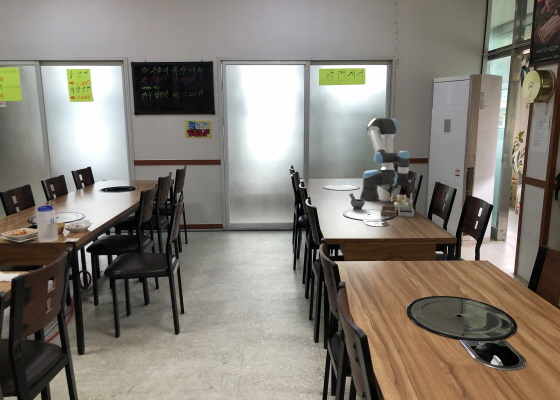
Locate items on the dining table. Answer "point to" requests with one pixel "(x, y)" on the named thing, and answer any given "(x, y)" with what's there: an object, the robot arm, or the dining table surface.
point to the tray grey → (405, 210)
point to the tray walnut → (388, 209)
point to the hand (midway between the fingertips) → (401, 201)
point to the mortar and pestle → (356, 202)
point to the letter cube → (401, 199)
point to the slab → (400, 205)
